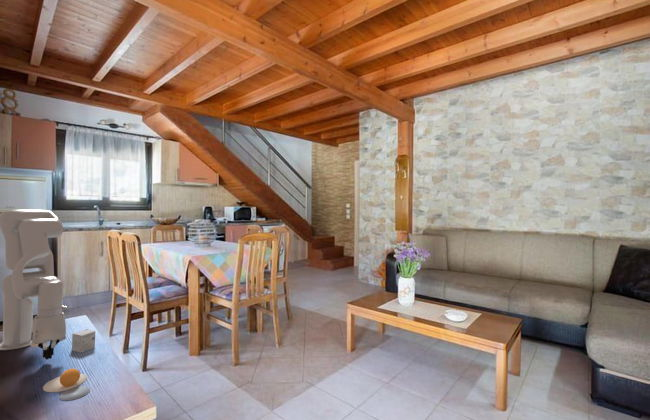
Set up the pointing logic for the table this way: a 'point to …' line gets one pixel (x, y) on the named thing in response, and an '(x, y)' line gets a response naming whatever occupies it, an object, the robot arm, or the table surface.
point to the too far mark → (74, 393)
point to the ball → (69, 377)
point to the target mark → (57, 387)
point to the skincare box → (83, 340)
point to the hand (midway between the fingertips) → (48, 357)
